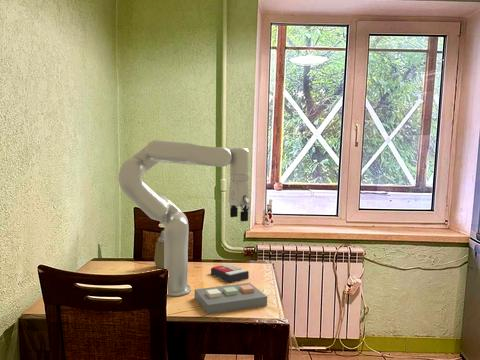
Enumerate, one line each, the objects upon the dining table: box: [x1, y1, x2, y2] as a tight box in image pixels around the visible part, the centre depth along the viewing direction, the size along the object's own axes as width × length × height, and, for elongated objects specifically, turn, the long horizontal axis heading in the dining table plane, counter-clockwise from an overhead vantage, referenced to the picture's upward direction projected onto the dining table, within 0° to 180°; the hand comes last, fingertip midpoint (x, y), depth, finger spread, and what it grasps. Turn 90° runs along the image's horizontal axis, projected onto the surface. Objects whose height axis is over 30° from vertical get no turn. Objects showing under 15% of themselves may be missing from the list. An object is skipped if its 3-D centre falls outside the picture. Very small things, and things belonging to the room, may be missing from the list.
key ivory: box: [206, 289, 221, 298], centre depth 157 cm, size 4×4×2 cm
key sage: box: [223, 287, 238, 296], centre depth 160 cm, size 4×4×2 cm
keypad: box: [194, 282, 268, 315], centre depth 160 cm, size 24×16×4 cm, turn 114°
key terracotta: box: [239, 285, 254, 294], centre depth 163 cm, size 4×4×2 cm
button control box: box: [210, 263, 250, 284], centre depth 190 cm, size 11×4×15 cm
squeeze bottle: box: [153, 230, 164, 270], centre depth 199 cm, size 8×8×18 cm
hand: (238, 218), depth 170 cm, fingers open, 9 cm apart
